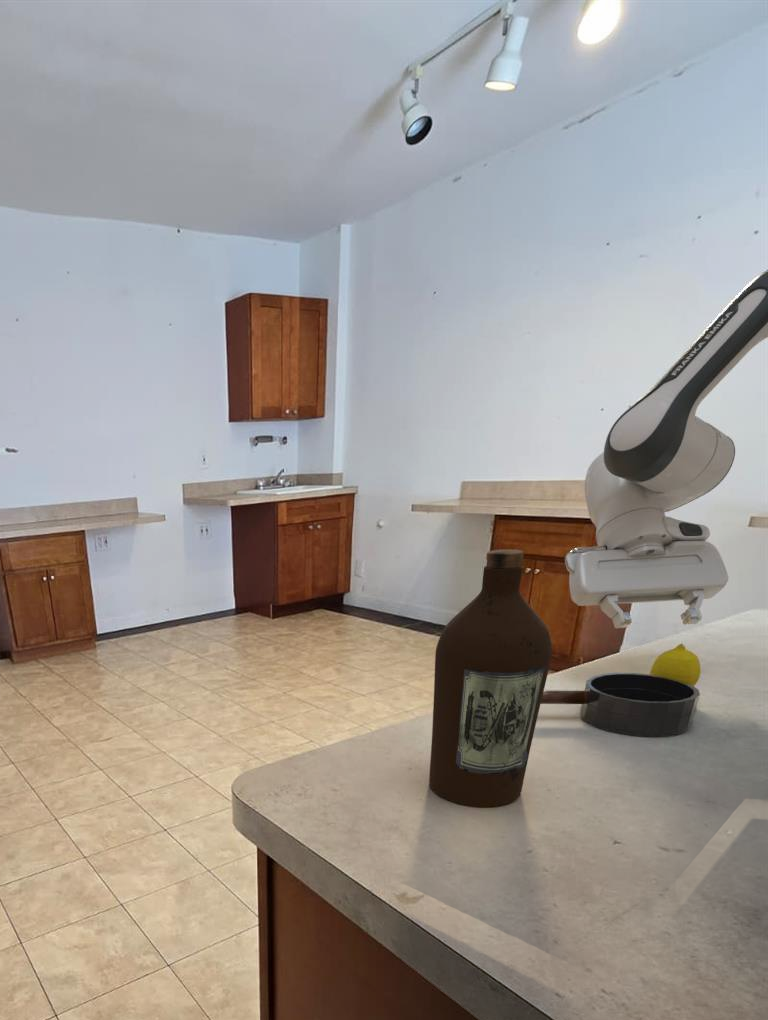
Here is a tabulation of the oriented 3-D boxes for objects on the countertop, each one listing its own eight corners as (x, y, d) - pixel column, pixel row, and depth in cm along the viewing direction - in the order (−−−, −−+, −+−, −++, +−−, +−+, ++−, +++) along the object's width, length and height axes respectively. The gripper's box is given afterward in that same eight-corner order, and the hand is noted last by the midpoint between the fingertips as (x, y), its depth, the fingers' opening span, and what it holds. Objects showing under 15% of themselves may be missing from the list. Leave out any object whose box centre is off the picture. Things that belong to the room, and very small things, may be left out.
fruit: (670, 708, 87) (685, 651, 83) (634, 696, 91) (647, 642, 88) (702, 702, 88) (718, 645, 84) (664, 690, 93) (678, 636, 89)
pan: (666, 704, 88) (674, 672, 86) (708, 738, 77) (719, 703, 76) (568, 703, 91) (574, 672, 89) (596, 736, 80) (603, 702, 78)
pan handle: (586, 701, 85) (589, 688, 85) (591, 706, 84) (593, 693, 83) (499, 700, 88) (501, 688, 87) (502, 705, 86) (504, 692, 86)
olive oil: (414, 767, 76) (433, 548, 65) (507, 765, 75) (542, 541, 64) (436, 811, 66) (462, 562, 56) (543, 810, 65) (591, 555, 54)
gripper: (572, 535, 93) (593, 616, 89) (720, 525, 92) (749, 607, 87) (553, 562, 99) (572, 639, 95) (691, 553, 98) (717, 631, 93)
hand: (658, 624), depth 91 cm, fingers open, 8 cm apart
